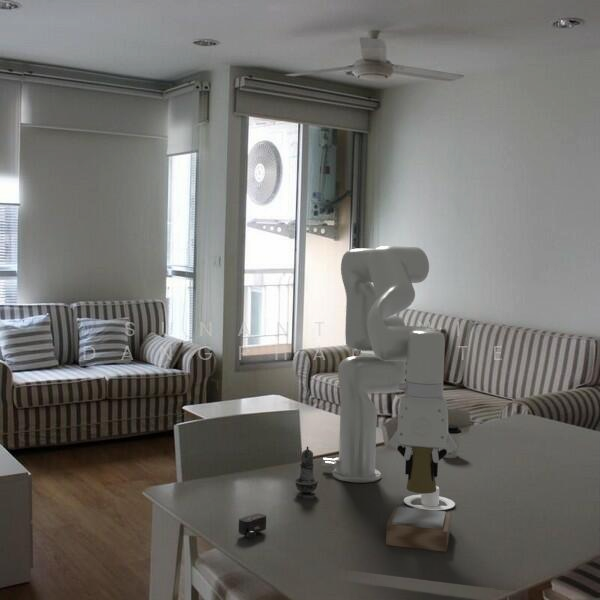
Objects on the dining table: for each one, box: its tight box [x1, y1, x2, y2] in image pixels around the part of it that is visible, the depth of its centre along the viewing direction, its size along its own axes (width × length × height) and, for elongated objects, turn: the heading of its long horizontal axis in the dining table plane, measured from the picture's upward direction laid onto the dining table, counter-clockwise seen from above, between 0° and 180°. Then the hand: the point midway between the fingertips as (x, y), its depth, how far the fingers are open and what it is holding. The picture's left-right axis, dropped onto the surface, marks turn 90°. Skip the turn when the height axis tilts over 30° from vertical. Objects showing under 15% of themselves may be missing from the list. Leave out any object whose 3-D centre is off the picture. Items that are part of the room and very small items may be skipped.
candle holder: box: [403, 485, 456, 511], centre depth 187 cm, size 12×12×4 cm
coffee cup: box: [439, 423, 462, 459], centre depth 229 cm, size 7×7×10 cm
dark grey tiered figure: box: [294, 445, 320, 500], centre depth 191 cm, size 6×6×12 cm
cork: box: [406, 447, 437, 494], centre depth 163 cm, size 6×6×11 cm
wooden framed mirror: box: [385, 506, 452, 553], centre depth 164 cm, size 12×12×5 cm
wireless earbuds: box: [238, 512, 267, 539], centre depth 164 cm, size 4×7×3 cm, turn 137°
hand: (421, 478), depth 163 cm, fingers closed on cork, 3 cm apart
